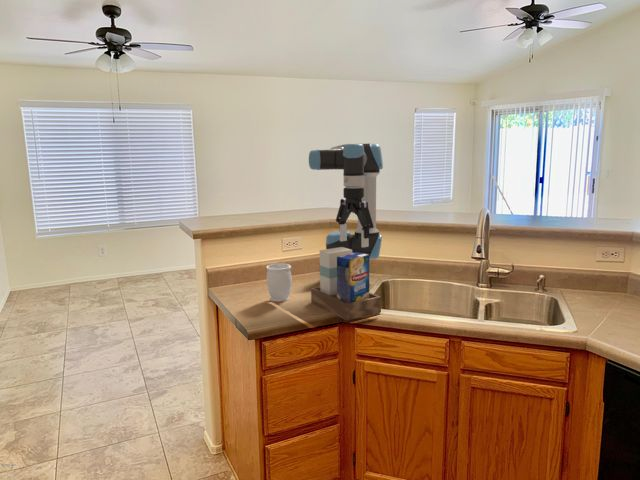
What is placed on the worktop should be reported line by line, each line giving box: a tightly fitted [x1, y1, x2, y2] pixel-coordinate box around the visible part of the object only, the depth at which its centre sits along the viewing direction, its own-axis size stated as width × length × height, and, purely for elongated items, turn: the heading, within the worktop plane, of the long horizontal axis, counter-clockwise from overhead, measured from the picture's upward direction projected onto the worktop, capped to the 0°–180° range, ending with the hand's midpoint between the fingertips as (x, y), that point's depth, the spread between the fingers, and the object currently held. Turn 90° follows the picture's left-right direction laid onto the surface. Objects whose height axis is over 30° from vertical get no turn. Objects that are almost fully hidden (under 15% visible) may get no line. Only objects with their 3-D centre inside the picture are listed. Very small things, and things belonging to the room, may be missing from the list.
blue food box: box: [337, 252, 370, 304], centre depth 176 cm, size 7×11×22 cm, turn 135°
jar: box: [266, 262, 293, 304], centre depth 195 cm, size 11×10×15 cm
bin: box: [310, 286, 382, 324], centre depth 183 cm, size 16×25×7 cm, turn 32°
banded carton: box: [319, 247, 352, 295], centre depth 187 cm, size 11×7×22 cm, turn 122°
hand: (353, 243), depth 174 cm, fingers open, 13 cm apart
